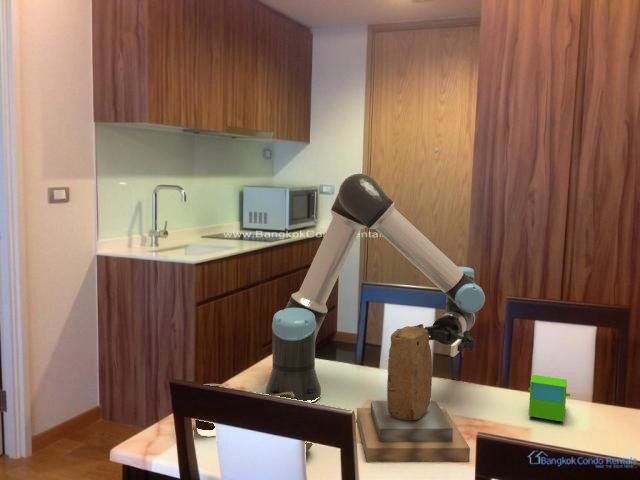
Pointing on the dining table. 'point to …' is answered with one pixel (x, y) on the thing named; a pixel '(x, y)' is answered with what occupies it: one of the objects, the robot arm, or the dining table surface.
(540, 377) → the toy car
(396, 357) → the block
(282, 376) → the robot arm
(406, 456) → the tower base
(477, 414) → the dining table surface
